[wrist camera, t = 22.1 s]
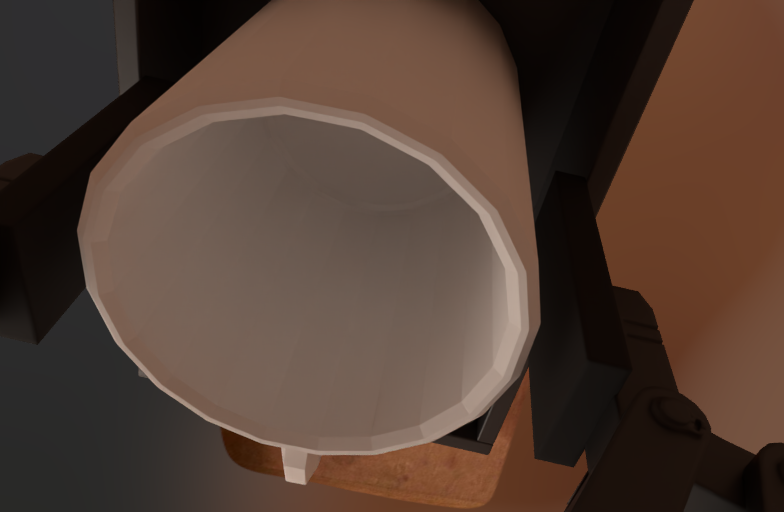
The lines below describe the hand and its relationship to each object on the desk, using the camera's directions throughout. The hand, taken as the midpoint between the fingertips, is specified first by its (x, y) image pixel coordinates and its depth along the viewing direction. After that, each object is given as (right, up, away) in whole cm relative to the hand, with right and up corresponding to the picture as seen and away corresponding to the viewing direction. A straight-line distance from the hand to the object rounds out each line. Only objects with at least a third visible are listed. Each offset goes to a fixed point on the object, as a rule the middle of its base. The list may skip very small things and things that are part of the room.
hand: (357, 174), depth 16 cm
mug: (0, +1, +4) cm, 4 cm away
